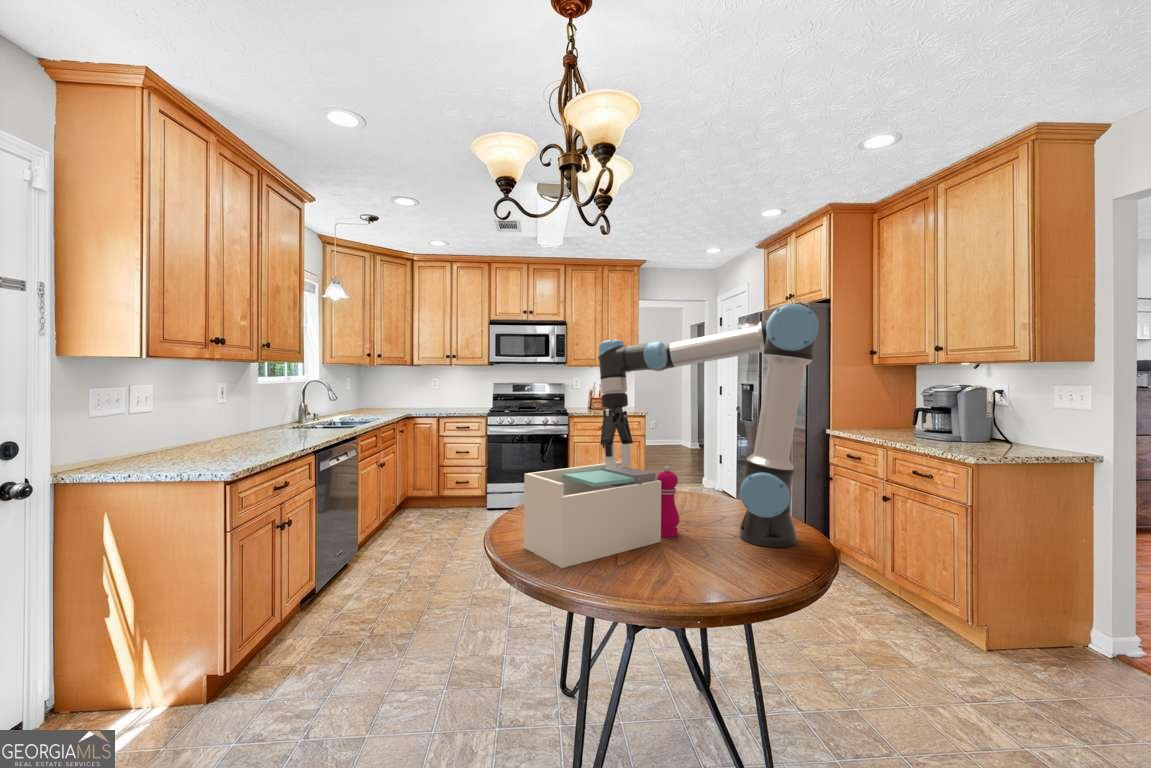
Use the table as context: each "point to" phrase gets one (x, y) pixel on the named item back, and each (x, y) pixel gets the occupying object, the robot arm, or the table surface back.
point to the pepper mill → (668, 503)
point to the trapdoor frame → (587, 516)
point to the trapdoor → (611, 476)
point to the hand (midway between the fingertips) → (619, 467)
